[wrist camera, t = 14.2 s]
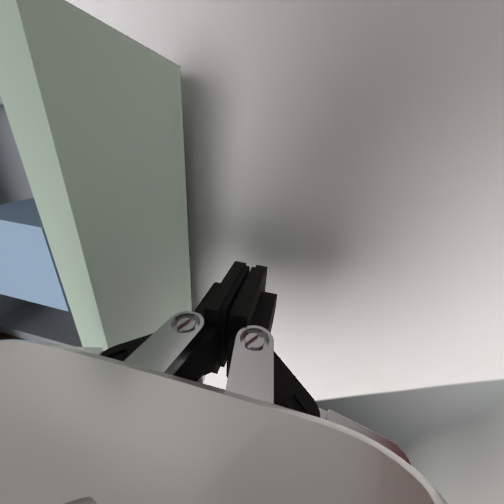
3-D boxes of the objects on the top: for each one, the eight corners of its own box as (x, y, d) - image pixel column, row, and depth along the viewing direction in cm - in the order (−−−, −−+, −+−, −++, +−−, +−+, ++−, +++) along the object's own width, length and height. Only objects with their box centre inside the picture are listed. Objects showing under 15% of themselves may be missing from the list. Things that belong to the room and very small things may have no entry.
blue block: (113, 205, 15) (41, 227, 11) (125, 272, 17) (68, 311, 13) (48, 194, 16) (-40, 212, 12) (67, 260, 18) (-2, 293, 14)
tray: (180, 66, 12) (7, -32, 5) (193, 351, 21) (135, 452, 14) (-57, 60, 15) (-367, -10, 8) (43, 312, 23) (-66, 380, 17)
